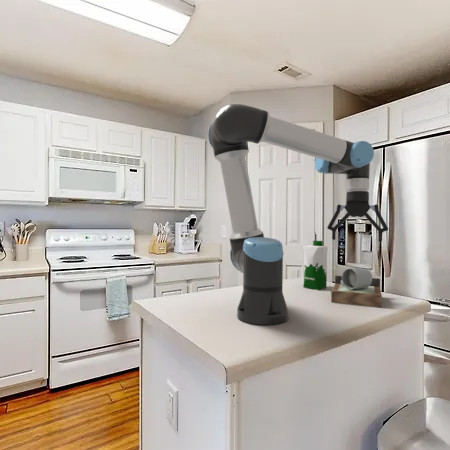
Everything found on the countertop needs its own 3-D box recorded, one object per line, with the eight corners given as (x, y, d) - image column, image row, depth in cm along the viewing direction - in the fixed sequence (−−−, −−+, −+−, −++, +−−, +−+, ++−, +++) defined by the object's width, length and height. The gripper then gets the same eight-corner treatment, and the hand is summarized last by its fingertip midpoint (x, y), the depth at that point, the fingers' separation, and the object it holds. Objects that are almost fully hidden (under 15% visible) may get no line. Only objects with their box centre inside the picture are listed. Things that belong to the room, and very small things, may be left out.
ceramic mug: (374, 289, 115) (374, 268, 115) (357, 291, 112) (357, 269, 112) (351, 284, 125) (351, 264, 125) (335, 286, 121) (335, 265, 121)
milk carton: (329, 287, 138) (330, 241, 138) (318, 290, 132) (318, 242, 132) (311, 284, 145) (312, 240, 145) (300, 287, 139) (300, 241, 138)
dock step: (331, 302, 114) (331, 282, 114) (335, 292, 129) (335, 275, 128) (381, 307, 107) (381, 286, 107) (379, 296, 122) (380, 278, 122)
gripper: (395, 191, 115) (394, 250, 115) (323, 192, 125) (321, 247, 125) (397, 189, 108) (395, 252, 108) (320, 191, 118) (319, 248, 118)
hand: (356, 249), depth 117 cm, fingers open, 13 cm apart
